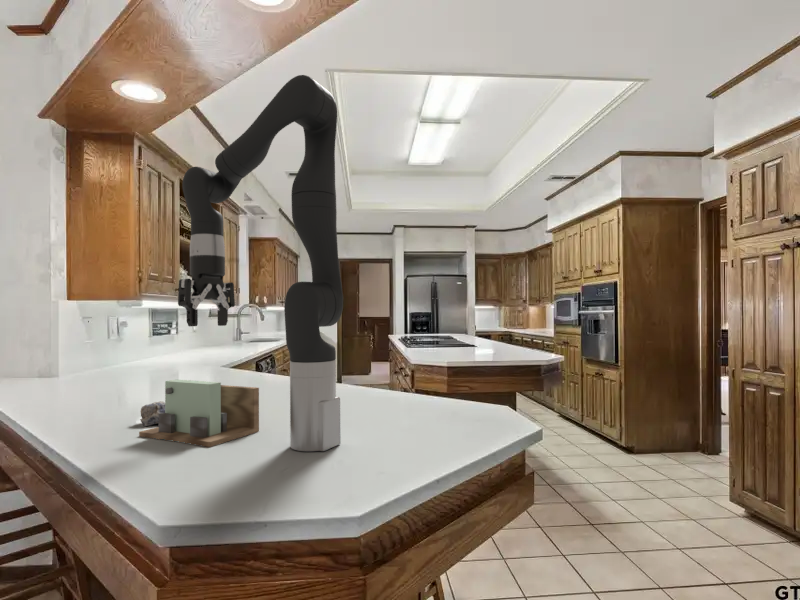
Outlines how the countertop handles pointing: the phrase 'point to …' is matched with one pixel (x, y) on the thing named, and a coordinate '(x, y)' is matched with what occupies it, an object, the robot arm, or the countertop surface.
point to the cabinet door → (194, 403)
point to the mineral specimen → (152, 413)
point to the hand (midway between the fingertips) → (208, 326)
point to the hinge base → (235, 420)
